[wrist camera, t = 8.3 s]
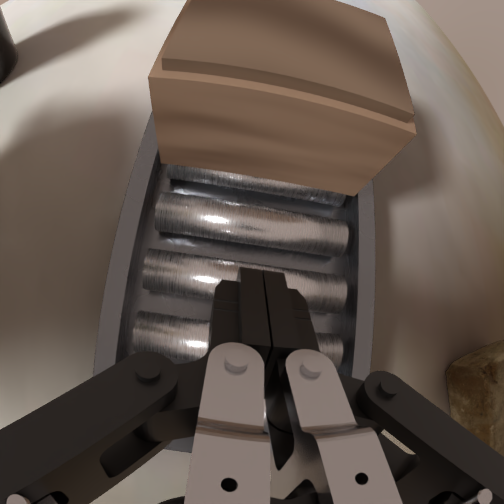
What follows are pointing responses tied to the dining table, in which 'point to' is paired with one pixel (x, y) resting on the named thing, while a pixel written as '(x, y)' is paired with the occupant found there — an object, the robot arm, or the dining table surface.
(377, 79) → the brown wooden block
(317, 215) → the roller track
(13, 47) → the supplement bottle
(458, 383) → the stone block
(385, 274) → the dining table surface
